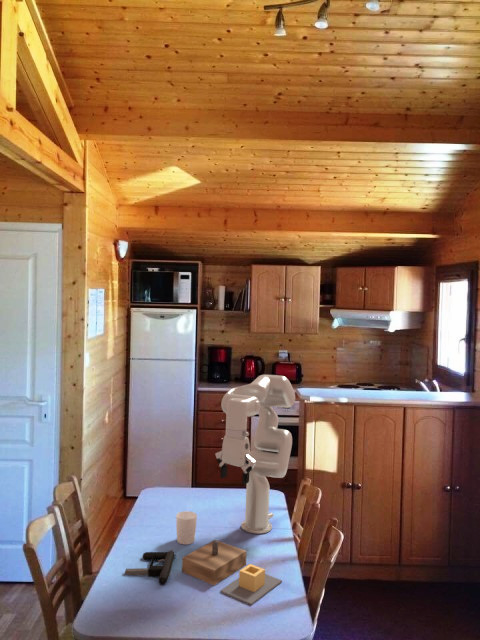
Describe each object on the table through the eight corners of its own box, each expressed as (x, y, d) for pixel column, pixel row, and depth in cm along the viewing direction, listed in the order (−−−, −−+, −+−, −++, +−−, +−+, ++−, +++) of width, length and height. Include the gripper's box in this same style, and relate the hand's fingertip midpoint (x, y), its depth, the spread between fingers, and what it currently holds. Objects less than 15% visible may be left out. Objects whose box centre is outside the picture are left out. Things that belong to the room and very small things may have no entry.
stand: (214, 553, 198) (215, 527, 198) (245, 565, 190) (246, 538, 190) (181, 571, 183) (182, 544, 183) (214, 585, 175) (215, 556, 175)
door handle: (120, 577, 174) (170, 576, 174) (133, 549, 194) (178, 548, 194) (121, 587, 174) (170, 586, 174) (133, 558, 194) (178, 557, 194)
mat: (252, 570, 186) (252, 569, 186) (281, 582, 179) (282, 580, 179) (220, 592, 171) (220, 590, 171) (251, 605, 164) (251, 603, 164)
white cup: (192, 546, 203) (193, 520, 203) (172, 543, 204) (173, 517, 204) (198, 537, 211) (199, 512, 210) (179, 535, 212) (180, 510, 212)
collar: (249, 578, 179) (249, 563, 179) (264, 584, 176) (265, 569, 176) (238, 585, 174) (239, 570, 174) (254, 592, 171) (254, 576, 171)
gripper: (262, 435, 191) (260, 483, 192) (223, 427, 202) (221, 472, 202) (250, 439, 185) (248, 488, 186) (210, 431, 195) (209, 477, 196)
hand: (234, 480), depth 194 cm, fingers open, 9 cm apart
